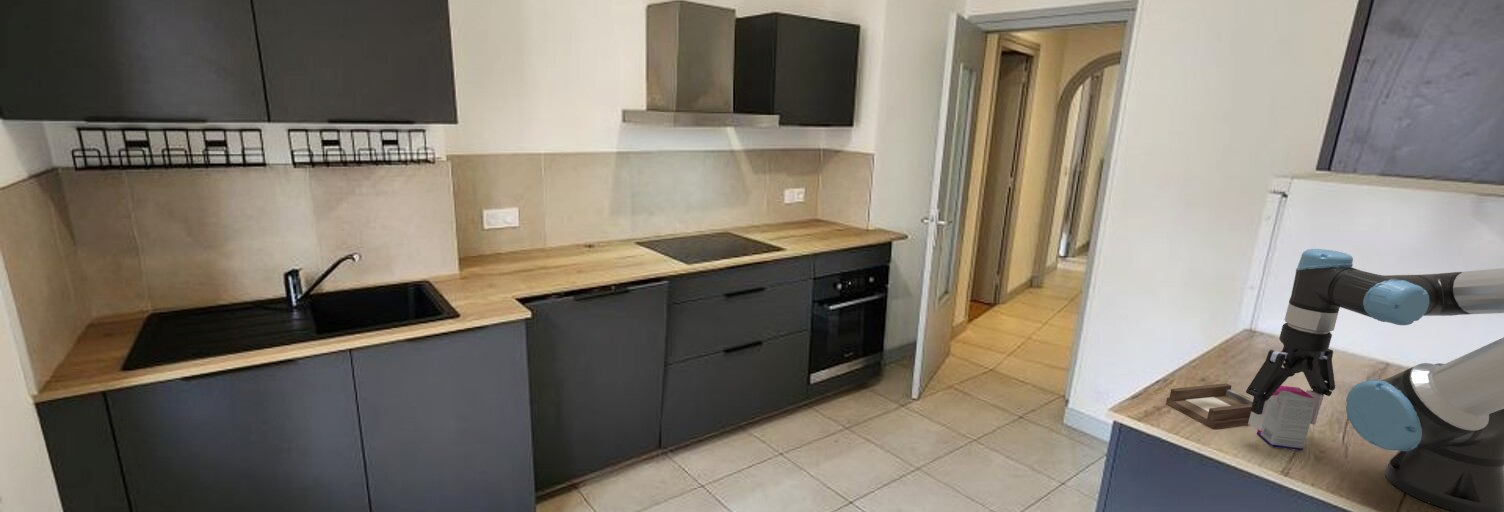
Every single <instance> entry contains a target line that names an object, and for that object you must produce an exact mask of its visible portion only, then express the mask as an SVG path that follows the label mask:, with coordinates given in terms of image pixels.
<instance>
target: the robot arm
mask: <svg viewBox="0 0 1504 512" xmlns="http://www.w3.org/2000/svg"><path fill="white" fill-rule="evenodd" d="M1353 262H1354V258H1353V256H1352V255H1350V254H1348V253H1346V252H1343V251H1338V250H1337V251H1336V250H1331V249H1324V248H1322V249H1321V248H1310V249H1306V250H1304V251H1303V252H1302V254H1301V256H1300V259H1299V262H1298V265H1297V268H1295V275H1294V280H1293V285H1292V288H1291V289H1292V290H1291V295H1290V297H1289V301H1288V305H1287V309H1286V312H1285V316H1284V322H1285V323H1283V324H1282V327H1281V331H1280V334H1279V341H1280V342H1281V343H1282V345H1283V348H1282V350H1281V351H1277V350H1274V349H1270V350H1269V351H1268V353H1267V356H1266V359H1265V360H1264V362H1263V364H1262V365H1261V366H1260V368H1259V370H1258V371H1257V373H1256V374H1255V376H1254V378H1253V379H1252V380H1251V382H1250V384H1249V385H1248V387H1247V388H1246V390H1245V392H1246V394H1248V395H1249V396H1252V397H1253V399H1252V400H1253V403H1252V407H1251V414H1250V418H1249V422H1248V424H1249V425H1248V426H1250V427H1253V428H1255V429H1256V430H1257V431H1258V430H1260V431H1264V428H1265V424H1266V420H1267V416H1268V413H1269V409H1270V405H1271V401H1270V400H1268V399H1269V398H1270V397H1271V396H1272V395H1273V394H1274V392H1275V391H1276V390H1277V389H1278V388H1279V387H1280V386H1283V384H1284V383H1285V382H1286V381H1287V379H1289V378H1291V377H1294V376H1295V375H1296V374H1300V373H1303V375H1304V377H1305V379H1306V381H1307V383H1308V385H1309V387H1310V389H1309V388H1308V389H1306V391H1305V392H1306V393H1308V394H1309V395H1311V396H1312V397H1314V398H1315V399H1316V403H1315V407H1314V410H1313V414H1312V418H1311V421H1310V425H1316V424H1317V419H1318V416H1319V413H1320V410H1321V405H1322V403H1323V399H1324V396H1327V397H1330V396H1332V393H1333V392H1334V390H1335V389H1336V382H1335V374H1334V368H1333V367H1334V366H1333V356H1334V350H1333V349H1330V344H1331V341H1332V337H1333V334H1332V333H1331V332H1332V331H1334V330H1335V327H1336V323H1337V320H1338V315H1339V311H1340V308H1341V309H1344V310H1347V311H1351V312H1353V313H1357V314H1359V315H1363V316H1366V317H1367V318H1372V319H1373V320H1377V321H1379V322H1383V323H1390V324H1393V325H1396V326H1409V325H1411V324H1413V323H1414V322H1417V321H1419V320H1420V319H1422V318H1423V317H1425V316H1427V317H1429V316H1430V317H1432V316H1433V317H1435V316H1441V317H1442V316H1444V317H1446V316H1450V317H1451V316H1459V315H1461V316H1462V315H1463V316H1464V315H1465V316H1466V315H1487V314H1488V315H1489V314H1504V268H1503V267H1501V268H1490V269H1488V268H1487V269H1478V270H1467V271H1453V272H1443V273H1440V272H1439V273H1431V274H1430V273H1428V274H1425V273H1424V274H1393V275H1391V274H1390V275H1384V274H1378V273H1372V272H1368V271H1365V270H1360V269H1358V268H1355V267H1353V266H1354V264H1353ZM1345 401H1346V406H1345V412H1346V415H1347V418H1348V420H1349V423H1350V424H1351V426H1352V428H1353V429H1354V430H1355V432H1356V433H1357V434H1358V435H1359V436H1360V437H1361V438H1363V440H1365V441H1366V442H1368V443H1369V444H1371V445H1374V446H1376V447H1377V448H1380V449H1383V450H1387V451H1397V452H1396V453H1395V454H1394V455H1393V456H1392V457H1391V458H1390V460H1389V461H1388V463H1387V465H1386V469H1385V471H1384V472H1385V473H1384V475H1385V477H1386V479H1387V481H1389V482H1390V483H1391V484H1392V485H1394V487H1396V488H1398V489H1399V490H1400V491H1402V492H1403V493H1406V494H1408V495H1409V496H1412V497H1414V498H1416V499H1419V500H1421V501H1423V502H1426V503H1428V504H1430V505H1433V506H1436V507H1438V508H1441V509H1444V510H1448V511H1451V512H1504V336H1503V337H1502V338H1500V339H1496V340H1494V341H1492V342H1490V343H1488V344H1486V345H1483V346H1481V347H1480V348H1479V347H1478V349H1475V350H1472V351H1470V352H1468V353H1466V354H1464V355H1462V356H1459V357H1458V358H1454V359H1453V360H1451V361H1448V362H1446V363H1429V362H1423V363H1419V364H1416V365H1413V366H1411V367H1410V368H1408V369H1405V370H1403V371H1401V372H1399V373H1396V374H1394V375H1392V376H1390V377H1387V378H1383V379H1375V378H1373V379H1368V380H1365V381H1362V382H1359V383H1357V384H1356V385H1354V386H1352V388H1351V389H1350V390H1349V391H1348V393H1347V396H1346V400H1345Z"/></svg>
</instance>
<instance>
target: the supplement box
mask: <svg viewBox="0 0 1504 512" xmlns="http://www.w3.org/2000/svg"><path fill="white" fill-rule="evenodd" d="M1268 400H1270V401H1271V405H1270V409H1269V413H1268V416H1267V420H1266V424H1265V428H1264V431H1260V430H1258V429H1257V431H1256V434H1257V436H1259V437H1260V438H1261V439H1262V440H1263V441H1264V442H1266V444H1268V445H1269V446H1270V447H1271V448H1277V449H1284V448H1287V449H1286V450H1293V449H1295V450H1294V451H1303V450H1304V447H1305V442H1306V438H1307V437H1308V436H1307V435H1308V432H1309V429H1310V425H1311V423H1310V421H1311V418H1312V414H1313V410H1314V407H1315V403H1316V399H1315V398H1314V397H1312V396H1311V395H1309V394H1308V393H1306V391H1305V390H1303V389H1301V388H1300V387H1296V386H1286V385H1281V386H1280V387H1279V388H1278V389H1277V390H1276V391H1275V392H1274V394H1273V395H1272V396H1271V397H1270V398H1269V399H1268Z"/></svg>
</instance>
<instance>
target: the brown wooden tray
mask: <svg viewBox="0 0 1504 512" xmlns="http://www.w3.org/2000/svg"><path fill="white" fill-rule="evenodd" d="M1252 403H1253V399H1252V398H1251V397H1248V396H1246V395H1243V394H1241V393H1239V392H1237V391H1235V390H1233V389H1232V385H1231V384H1229V383H1218V384H1217V383H1215V384H1207V385H1196V386H1188V387H1187V386H1186V387H1177V388H1175V387H1174V388H1170V394H1169V397H1167V398H1166V400H1165V404H1166V405H1167V406H1169V407H1171V408H1173V409H1174V410H1177V411H1179V412H1180V413H1182V414H1184V415H1186V416H1187V417H1190V418H1192V419H1194V420H1195V421H1197V422H1199V423H1200V424H1202V425H1205V426H1206V427H1209V428H1210V429H1211V430H1219V429H1227V428H1237V427H1244V426H1245V427H1246V426H1250V425H1249V424H1248V422H1249V418H1250V414H1251V407H1252Z"/></svg>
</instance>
